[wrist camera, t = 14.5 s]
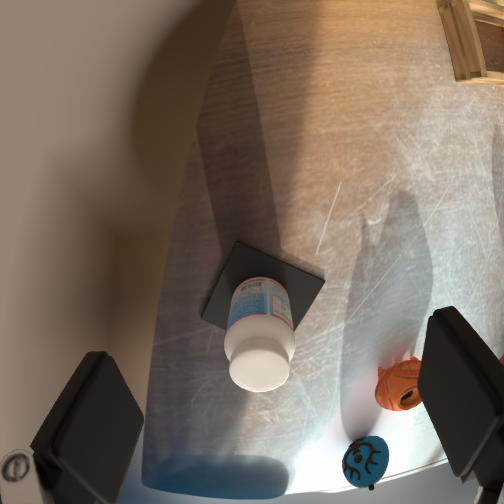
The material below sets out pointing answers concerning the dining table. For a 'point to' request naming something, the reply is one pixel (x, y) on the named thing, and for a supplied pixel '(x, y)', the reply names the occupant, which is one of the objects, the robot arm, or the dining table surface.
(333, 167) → the dining table surface
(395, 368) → the pot
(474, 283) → the dining table surface
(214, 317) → the plate
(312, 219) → the dining table surface
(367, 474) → the ornament
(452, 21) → the crate
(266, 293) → the pill bottle
